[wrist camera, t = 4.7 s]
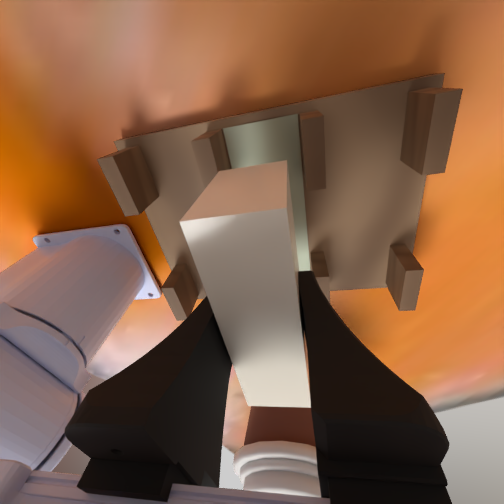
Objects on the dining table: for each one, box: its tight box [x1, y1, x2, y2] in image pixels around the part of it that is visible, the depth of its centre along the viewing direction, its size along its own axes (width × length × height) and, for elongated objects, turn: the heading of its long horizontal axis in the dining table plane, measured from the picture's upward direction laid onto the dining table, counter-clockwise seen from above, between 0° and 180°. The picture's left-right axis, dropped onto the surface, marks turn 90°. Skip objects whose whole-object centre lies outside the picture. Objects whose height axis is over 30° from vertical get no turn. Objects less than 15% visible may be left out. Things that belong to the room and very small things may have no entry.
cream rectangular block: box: [179, 160, 311, 408], centre depth 12 cm, size 3×10×5 cm, turn 11°
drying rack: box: [97, 73, 463, 321], centre depth 17 cm, size 19×14×4 cm
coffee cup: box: [234, 351, 321, 497], centre depth 24 cm, size 9×9×12 cm
